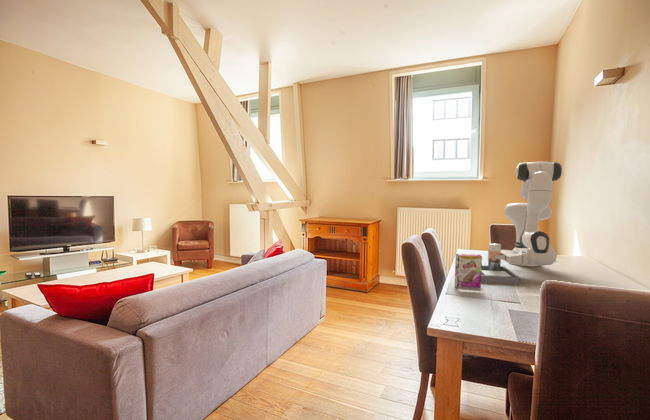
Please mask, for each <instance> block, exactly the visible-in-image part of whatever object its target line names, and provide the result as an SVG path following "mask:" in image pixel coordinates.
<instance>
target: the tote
mask: <svg viewBox="0 0 650 420" xmlns="http://www.w3.org/2000/svg"><path fill="white" fill-rule="evenodd" d="M481 270H487V271H491V270H488V265H482V267H481ZM500 271H505V272H506V273H508V274H509V275H510V276H511V277H508V276H487V275H481V284H499V285H500V284H501V285H518V286H519V285H520V277H519V276H518V275H516V273H513V271H511V270H510V269H508V268H507V267H506V266H504V265H502V266H500Z"/></svg>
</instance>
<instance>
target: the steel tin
mask: <svg viewBox="0 0 650 420" xmlns="http://www.w3.org/2000/svg"><path fill="white" fill-rule="evenodd" d="M501 250H502V244H501V243H492V242H491V243H488V252H487V263H488V264H487V266H488V270H491V271H500V266H501V259H495V258H494V256H495V255H501Z"/></svg>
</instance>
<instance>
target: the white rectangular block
mask: <svg viewBox="0 0 650 420" xmlns="http://www.w3.org/2000/svg"><path fill="white" fill-rule="evenodd" d="M481 275H487V276H508V277H511V276H510V275H509V274H508V273H506V272H505V271H487V270H481Z"/></svg>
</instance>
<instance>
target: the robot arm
mask: <svg viewBox="0 0 650 420" xmlns="http://www.w3.org/2000/svg"><path fill="white" fill-rule="evenodd" d="M562 174H563V168H562V165H561V163H559V162H555V161H551V162H550V161H531V162H526V161H524V162H519V164H517V166H516V168H515V177H516V179H517V180H518V181H521V187H520V192H519V193H520V197H521V198H522V199H523V200H525V201H527V202H513V203H508V204H507V205H505V207H504V209H503V210H504V212H503V214H504V215H505V217H506V219H508V220H509V221H511V223H512V224H513V225H514V228H515V235H516V236H515V238H516V239H515V243H514V248H513V249H512V250H511V249H510V250H509V249H501V255H495V256H494V258H495V259H501V260H502V261H505V262H506V263H508V264H511V265H517V266H523V267H539V266H550V265H553V264H555V262H556V261H557V252H556V250H555V249H554V248H553V246H552V244H551V242H550V237H549V235H548V233H545V232H544V231H539V230H538V229H539V223H540V222H539V221H545V220H549V219H550V218H551V216H552V213H553V211H552V207H551V206H550V205H551V202H552V199H553V191H554V190H553V189H554V187H553V186H554V185H553V184H554V183H553V182H556V181H558V180H560V179H561V177H562Z"/></svg>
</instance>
